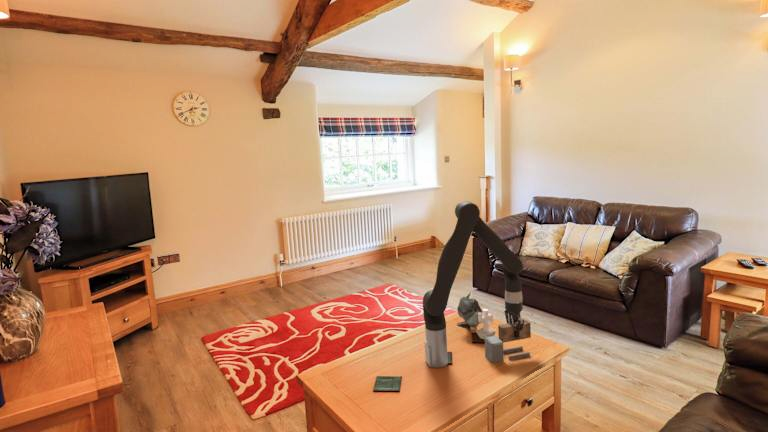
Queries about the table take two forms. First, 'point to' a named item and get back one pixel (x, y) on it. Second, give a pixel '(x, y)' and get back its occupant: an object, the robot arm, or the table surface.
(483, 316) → the figurine
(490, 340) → the socket end cap
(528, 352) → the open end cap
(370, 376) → the table surface
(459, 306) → the narwhal figurine
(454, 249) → the robot arm
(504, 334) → the walnut slat
